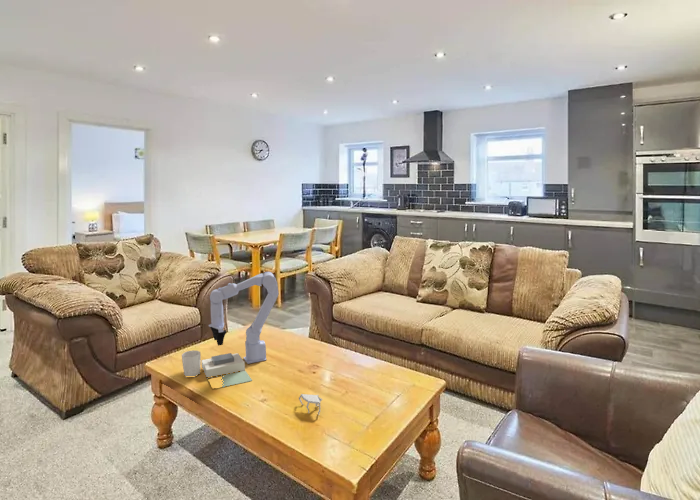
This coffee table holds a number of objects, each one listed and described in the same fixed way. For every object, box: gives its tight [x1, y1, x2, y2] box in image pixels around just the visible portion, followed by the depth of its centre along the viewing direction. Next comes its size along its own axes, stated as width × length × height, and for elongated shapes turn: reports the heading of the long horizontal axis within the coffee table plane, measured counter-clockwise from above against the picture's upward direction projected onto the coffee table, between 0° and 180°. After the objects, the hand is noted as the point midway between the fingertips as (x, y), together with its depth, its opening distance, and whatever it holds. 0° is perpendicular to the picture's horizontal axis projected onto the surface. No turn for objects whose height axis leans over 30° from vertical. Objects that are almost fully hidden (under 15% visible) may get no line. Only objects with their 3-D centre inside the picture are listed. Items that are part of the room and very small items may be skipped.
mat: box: [221, 370, 253, 388], centre depth 184 cm, size 17×11×1 cm, turn 119°
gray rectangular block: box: [210, 352, 234, 366], centre depth 194 cm, size 9×6×2 cm, turn 119°
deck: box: [201, 352, 246, 378], centre depth 194 cm, size 17×12×4 cm
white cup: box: [181, 350, 202, 377], centre depth 188 cm, size 8×8×10 cm
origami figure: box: [298, 393, 323, 416], centre depth 160 cm, size 12×8×5 cm
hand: (218, 342), depth 200 cm, fingers open, 7 cm apart
